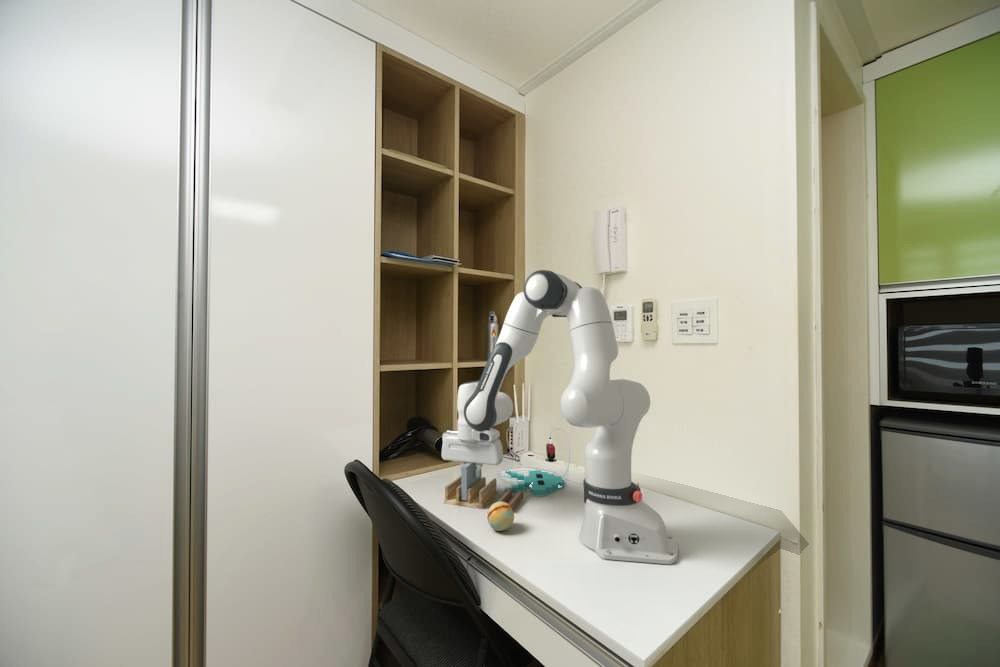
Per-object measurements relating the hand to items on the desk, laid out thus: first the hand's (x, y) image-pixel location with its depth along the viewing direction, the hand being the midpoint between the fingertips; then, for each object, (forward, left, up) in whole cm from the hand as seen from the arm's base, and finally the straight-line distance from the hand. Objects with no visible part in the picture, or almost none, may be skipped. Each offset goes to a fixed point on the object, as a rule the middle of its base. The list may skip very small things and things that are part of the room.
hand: (471, 476), depth 121 cm
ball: (-16, +16, -7) cm, 24 cm away
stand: (-13, 0, -7) cm, 15 cm away
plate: (0, 0, -6) cm, 6 cm away
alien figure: (-15, -19, -8) cm, 25 cm away
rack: (0, 0, -7) cm, 7 cm away
